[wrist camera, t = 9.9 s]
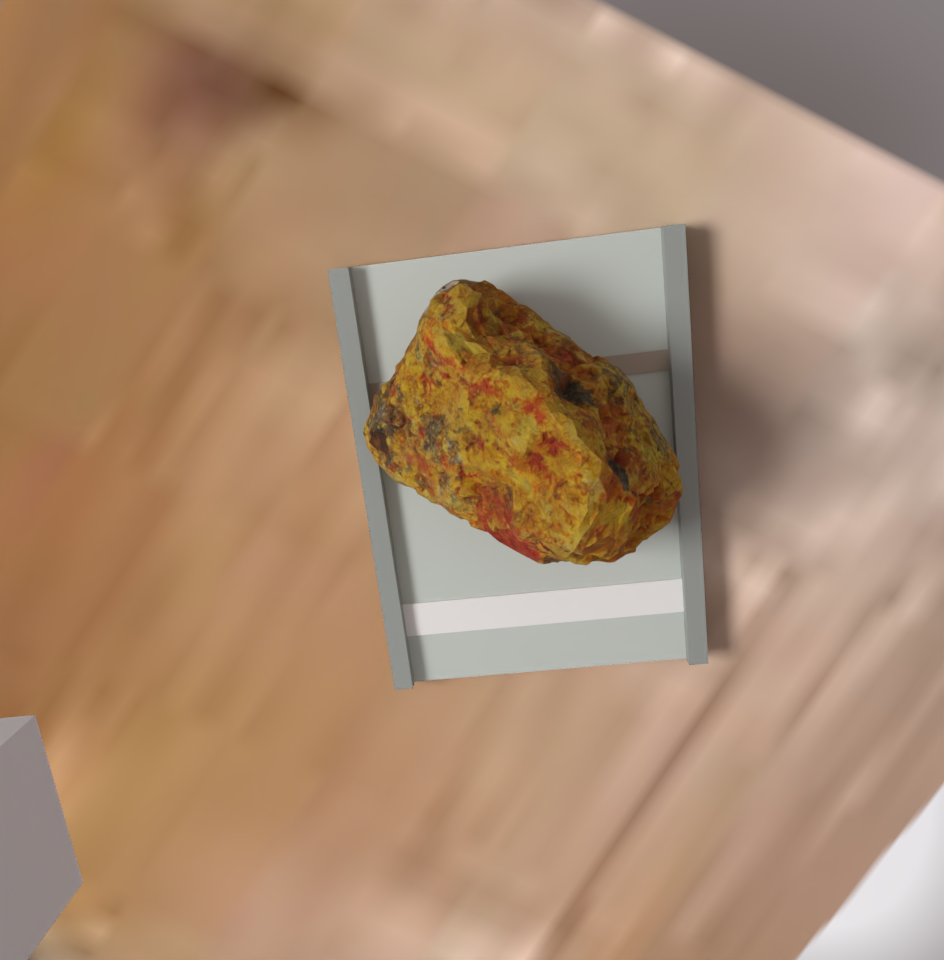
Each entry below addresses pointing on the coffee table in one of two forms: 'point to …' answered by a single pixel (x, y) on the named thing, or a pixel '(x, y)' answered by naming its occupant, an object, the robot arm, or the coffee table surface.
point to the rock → (522, 432)
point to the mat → (476, 554)
